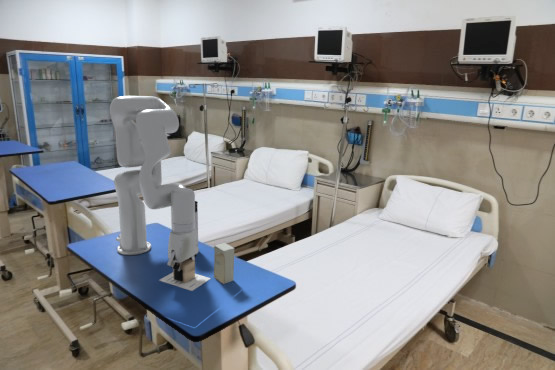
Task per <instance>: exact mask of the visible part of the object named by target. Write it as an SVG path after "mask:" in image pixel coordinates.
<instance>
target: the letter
mask: <svg viewBox="0 0 555 370" xmlns="http://www.w3.org/2000/svg"><path fill="white" fill-rule="evenodd" d="M211 279H212V278H211V277H207V276H204V275H202V274H197V273H195V277H194V278H192V279H191V280H189V281H188V282H186V283H184V282H181V281H178V280H175V279H174V276H173V271H172V272H171V273H169V274H167V275H165V276H163V277H162V278H160V279H159V280H158V281H160V282H163V283H165V284H168V285H172V286H176V287H178V288H181V289H185V290H188V291H191V292H193V291H195V290H196V289H197V288H199V287H200V286H202V285H203V284H205V283H206V282H208V281H209V280H211Z"/></svg>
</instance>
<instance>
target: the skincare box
mask: <svg viewBox="0 0 555 370" xmlns="http://www.w3.org/2000/svg"><path fill="white" fill-rule="evenodd" d="M213 252H214V255H213V257H214V259H213V266H214V267H213V278H214V279H216V281H218V282H220V283H221V284H223V285H224V284H227V283H230V282H233V281H234V274H235V273H234V271H235V268H234V267H235V247H233V246H231V245H230V244H229V243H226V242H225V241H224V242H221V243H217V244H214V251H213Z"/></svg>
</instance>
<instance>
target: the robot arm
mask: <svg viewBox="0 0 555 370" xmlns="http://www.w3.org/2000/svg"><path fill="white" fill-rule="evenodd" d="M109 115H110V118H111V122H112V124H113V127H114V132H115V147H116V148H115V149H116V159H117V163H118V165H119V166H120V167H122V168H125V169H127V168H128V169H129V168H139V167H141V168H140V169H132V170H126V171H122V172H119V173H118V174H116V176H115V177H114V180H113V183H114V189H115V192H116V197H117V203H118V205H117V206H118V215H119V216H118V217H119V229H120V232H119V233H120V234H119V235H118V236H117V237H115V241H117V242H119V245H118V246H117V252H118V254H121V255H125V256H135V255H140V254H144V253H147V252H148V251H150V250H151V248H152V244H151V242H149V241H147V240H148V239H147V221H146V220H147V219H146V206H147V208H148V209H151V210H160V209H164V208H168V207H170V214H171V215H170V217H171V218H170V219H171V220H170V221H171V223H170V224H171V231H170V232H169V236H168V244H167V246H168V248H167V257H168V262H167V263H166V264H167V266H168V267H171V268H172V270H173V269H174V279H175V280H178V281H181V282H182V281H183V270H181V269H182V263H183V261H185V260H186V259H191V260H194V261H195V262H196V258H197V255H198V253H199V251H200V248H199V242H198V243H197V233H196V228H195V201H196V198H195V197H196V194H195V191H194V190H193V189H191V188H189V187H186V186H185V185H184V184H183V183H180V182H173V183H165V184H162V182H163V181H162V179H163V178H162V161H163V160H165V159H166V158H168V157H169V156H170V155H171V153H172V149H171V146H170V142H169V140H168V137H167V134H173V133H176V132H178V130H179V127H180V122H179V117H178V115H177V113H176V111H175V110H174V109H173V108H172V107H171V106H170V105H169V104H167V103H166V102H165V101H164V100H162V99H161V98H160V97H157V96H154V95H153V96H152V95H149V96H148V95H123V96H122V95H121V96H118V97H114V98H113V99H112V101H110V105H109ZM139 195H140V196H141V195H142V198H143V200H141V198H140V197H139ZM145 205H146V206H145ZM177 263H179V265H178V266H177Z"/></svg>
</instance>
